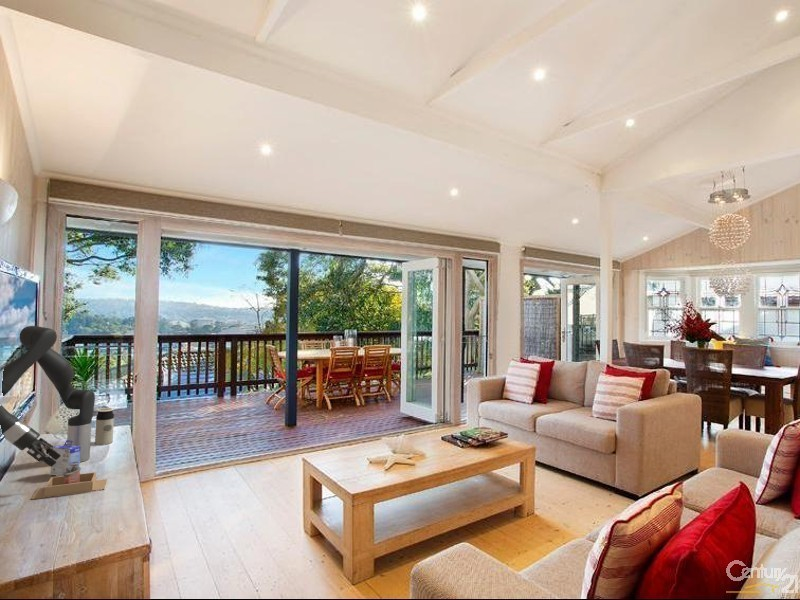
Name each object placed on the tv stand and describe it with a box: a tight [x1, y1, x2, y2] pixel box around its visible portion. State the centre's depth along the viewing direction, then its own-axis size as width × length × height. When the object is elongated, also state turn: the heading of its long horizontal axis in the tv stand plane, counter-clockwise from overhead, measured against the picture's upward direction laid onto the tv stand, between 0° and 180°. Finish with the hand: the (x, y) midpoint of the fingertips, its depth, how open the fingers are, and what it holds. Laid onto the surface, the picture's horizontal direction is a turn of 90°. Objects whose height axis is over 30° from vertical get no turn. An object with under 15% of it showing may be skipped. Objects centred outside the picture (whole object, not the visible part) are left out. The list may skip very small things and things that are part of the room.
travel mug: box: [94, 407, 115, 446], centre depth 239 cm, size 8×8×18 cm
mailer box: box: [30, 471, 108, 500], centre depth 180 cm, size 15×23×4 cm, turn 119°
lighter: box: [63, 463, 82, 484], centre depth 179 cm, size 8×3×10 cm, turn 5°
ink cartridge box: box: [49, 439, 81, 477], centre depth 193 cm, size 10×6×14 cm, turn 78°
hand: (56, 461), depth 176 cm, fingers open, 8 cm apart
